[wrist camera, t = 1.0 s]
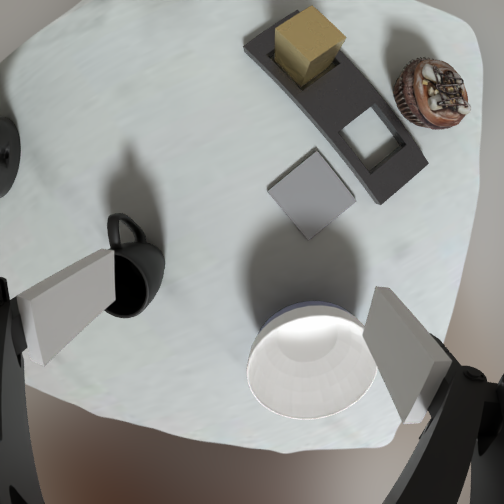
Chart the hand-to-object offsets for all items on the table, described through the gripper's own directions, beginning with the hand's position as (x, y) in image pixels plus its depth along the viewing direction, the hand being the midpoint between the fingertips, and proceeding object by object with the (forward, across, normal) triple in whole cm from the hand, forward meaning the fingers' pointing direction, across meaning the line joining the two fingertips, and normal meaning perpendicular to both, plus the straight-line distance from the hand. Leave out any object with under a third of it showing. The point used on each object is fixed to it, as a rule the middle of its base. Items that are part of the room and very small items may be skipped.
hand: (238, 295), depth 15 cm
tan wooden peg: (+26, +3, +21) cm, 33 cm away
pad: (+26, +6, +4) cm, 26 cm away
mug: (+26, -15, -6) cm, 30 cm away
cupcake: (+26, +19, +20) cm, 38 cm away
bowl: (+26, +9, -16) cm, 31 cm away
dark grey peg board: (+26, +8, +16) cm, 31 cm away
